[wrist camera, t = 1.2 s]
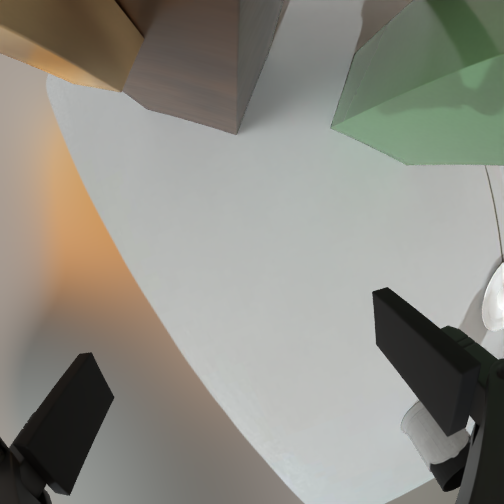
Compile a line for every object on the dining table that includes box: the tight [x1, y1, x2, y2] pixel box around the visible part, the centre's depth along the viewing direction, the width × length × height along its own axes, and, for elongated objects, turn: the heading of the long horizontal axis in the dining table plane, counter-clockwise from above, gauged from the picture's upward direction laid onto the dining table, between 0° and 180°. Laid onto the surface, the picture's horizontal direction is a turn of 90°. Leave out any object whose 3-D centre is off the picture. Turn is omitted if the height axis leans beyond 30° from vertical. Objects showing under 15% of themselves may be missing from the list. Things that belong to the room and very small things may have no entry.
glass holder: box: [401, 401, 471, 492], centre depth 34 cm, size 9×14×15 cm, turn 33°
